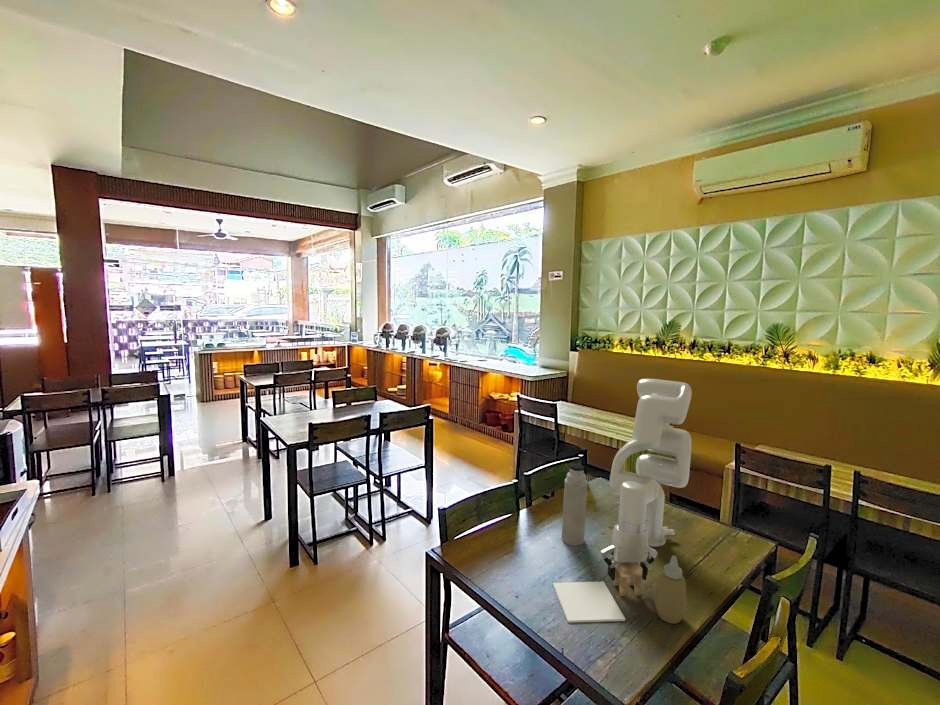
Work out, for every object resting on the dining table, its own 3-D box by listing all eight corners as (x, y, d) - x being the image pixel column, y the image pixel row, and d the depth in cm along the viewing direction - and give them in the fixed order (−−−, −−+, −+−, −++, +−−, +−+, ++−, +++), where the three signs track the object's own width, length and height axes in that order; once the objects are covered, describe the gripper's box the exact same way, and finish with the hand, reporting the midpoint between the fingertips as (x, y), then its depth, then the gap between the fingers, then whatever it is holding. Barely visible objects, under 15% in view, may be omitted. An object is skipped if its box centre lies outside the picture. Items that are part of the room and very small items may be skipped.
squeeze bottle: (648, 607, 127) (652, 548, 125) (675, 606, 128) (680, 547, 126) (662, 628, 119) (667, 565, 117) (691, 626, 120) (697, 564, 118)
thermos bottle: (560, 533, 166) (564, 461, 163) (582, 534, 166) (586, 462, 162) (562, 544, 159) (566, 469, 155) (585, 546, 158) (590, 470, 154)
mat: (603, 583, 138) (603, 581, 137) (625, 620, 122) (625, 618, 122) (552, 584, 136) (552, 582, 136) (567, 622, 120) (568, 620, 120)
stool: (631, 582, 138) (633, 557, 137) (640, 595, 132) (642, 568, 131) (612, 583, 138) (614, 557, 137) (620, 596, 132) (622, 569, 131)
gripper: (653, 517, 137) (648, 569, 139) (598, 518, 135) (594, 570, 137) (665, 530, 129) (660, 585, 131) (607, 530, 128) (603, 586, 130)
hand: (627, 577), depth 134 cm, fingers open, 9 cm apart
